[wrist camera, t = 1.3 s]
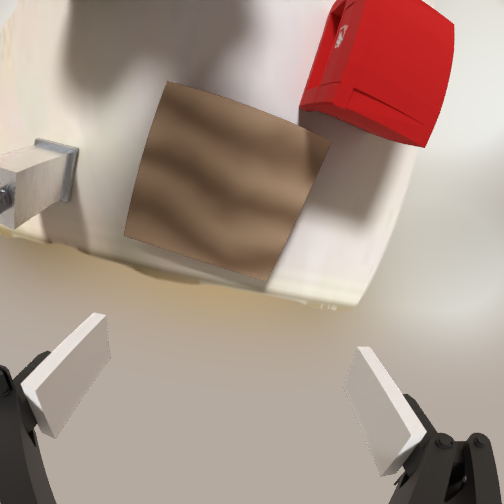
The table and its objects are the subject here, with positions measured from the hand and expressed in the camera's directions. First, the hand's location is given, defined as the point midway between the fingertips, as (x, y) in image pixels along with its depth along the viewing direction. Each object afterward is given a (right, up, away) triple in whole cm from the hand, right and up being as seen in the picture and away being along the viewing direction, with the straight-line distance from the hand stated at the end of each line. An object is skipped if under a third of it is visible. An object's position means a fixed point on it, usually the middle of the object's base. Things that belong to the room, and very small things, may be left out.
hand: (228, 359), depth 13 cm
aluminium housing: (-29, +18, +21) cm, 40 cm away
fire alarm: (+14, +30, +17) cm, 37 cm away
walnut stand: (-3, +15, +23) cm, 28 cm away
